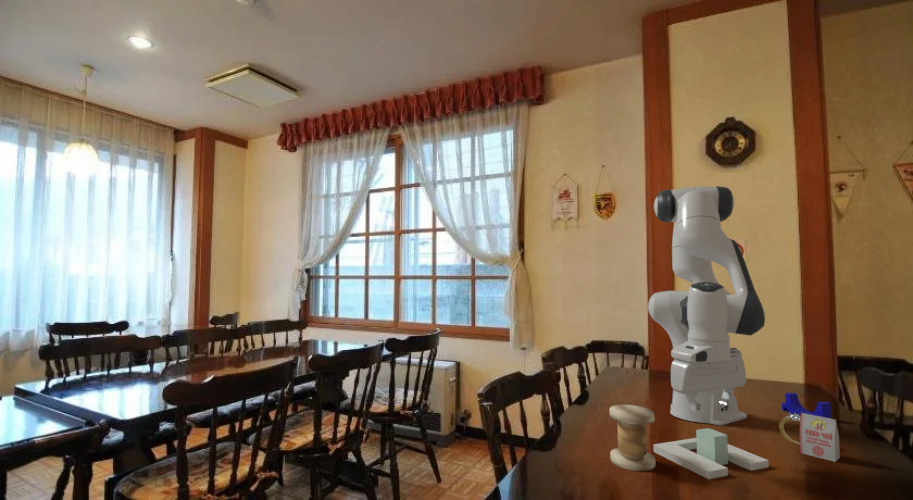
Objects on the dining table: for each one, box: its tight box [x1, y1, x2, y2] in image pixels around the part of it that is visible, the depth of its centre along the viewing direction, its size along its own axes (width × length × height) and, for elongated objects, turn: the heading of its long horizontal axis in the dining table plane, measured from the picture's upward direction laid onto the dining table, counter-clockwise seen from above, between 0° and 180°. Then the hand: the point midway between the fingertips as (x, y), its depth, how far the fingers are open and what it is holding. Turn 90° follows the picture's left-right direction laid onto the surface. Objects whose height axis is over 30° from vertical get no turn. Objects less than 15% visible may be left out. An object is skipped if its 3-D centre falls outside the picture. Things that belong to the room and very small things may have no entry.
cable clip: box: [781, 392, 832, 419], centre depth 138 cm, size 12×4×6 cm, turn 11°
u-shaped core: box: [653, 437, 770, 480], centre depth 105 cm, size 18×16×2 cm
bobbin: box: [609, 404, 657, 472], centre depth 105 cm, size 10×10×12 cm
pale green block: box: [695, 427, 729, 466], centre depth 105 cm, size 4×5×7 cm
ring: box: [778, 412, 801, 445], centre depth 115 cm, size 7×3×8 cm, turn 28°
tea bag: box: [798, 413, 841, 463], centre depth 107 cm, size 4×7×10 cm, turn 37°
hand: (710, 408), depth 106 cm, fingers open, 8 cm apart
